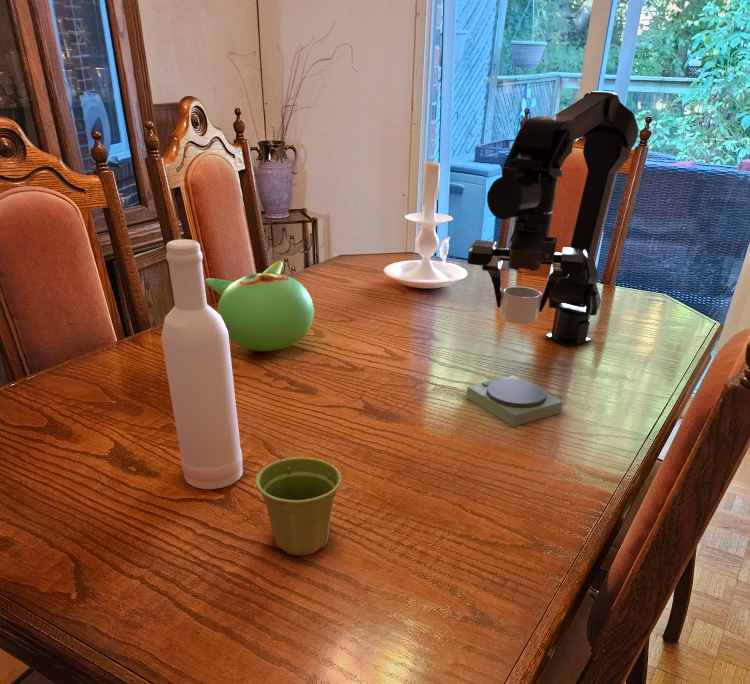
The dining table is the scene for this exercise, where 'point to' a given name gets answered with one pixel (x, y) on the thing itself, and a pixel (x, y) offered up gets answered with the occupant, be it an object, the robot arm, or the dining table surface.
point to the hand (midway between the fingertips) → (519, 309)
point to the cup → (520, 304)
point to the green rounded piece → (264, 309)
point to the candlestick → (427, 242)
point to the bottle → (200, 375)
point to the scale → (514, 400)
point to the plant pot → (299, 501)
